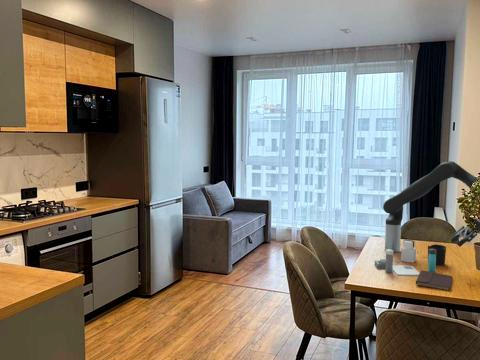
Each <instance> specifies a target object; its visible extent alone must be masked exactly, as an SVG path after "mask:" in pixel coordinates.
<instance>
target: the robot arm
mask: <svg viewBox="0 0 480 360" xmlns="http://www.w3.org/2000/svg"><path fill="white" fill-rule="evenodd" d="M451 178H453V179H456V180H458V181H460V182H462V183H464V185H466V186H467V187H468V188H469V189H470V190H471V184H472V182H474V181H476V180H477V179H479V178H477V177H476V176H475V175H473V174H472V173H470V172H468V171H467V170H466V169H464V168H463V167H462V166H460V165H459V164H458V163H457V162H455V161H452V160H451V161H450V160H449V161H445V162H442V163H440V164H439V165H438V166H436V167H435V168H434V169H433V170H431V172H430V173H428V174H427V175H424V176H422V177H421V178H419V179H418V180H416V181H414V182H413V183H411V184H410V185H409V186H408V187H406V188H404V189H403V190H402V191H401V192H400V193H398V194H396V195H394V196H392V197H390V198H389V199H387V200H385V201H384V203H383V205H382V209H383V211H384V212H385V213H386V214H389V215H388V217H387V218H386V219H385V232H384V235H385V236H384V250H385V251H386V249H391V250H393V253H401V238H402V235H401V231H402V221H403V215H404V205H406V204H408V203H411V202H414V201H416V200H418V199H420V198H422V197H423V196H425V195H426V194H428V193H429V192H430V191H431V190H432V189H433V188H434V187H435V186H436V185H438V184H440V183H442V182H443V181H446V180H448V179H451ZM474 221H475V224H476V228H477V229H478V231H477V233H476V232H475V231H474V230H472V229H471V228H469V227H468V225H467V222H466V226H464V225H462V226H461V227H460V228H459V229H457V231H455V232H454V236H453V237H451V239H450V241H451V242H452V243H453V244H455V243H456V242H457V240H459V239H460V238H462V239H460V240H459V241H458V242H457V243H456V244H457V246H458V247H462V246H463V245H465V243H471V241H473V239H475V238H476V237H477V236H478V234H479V233H480V221H479V220H478V219H477V218H474Z"/></svg>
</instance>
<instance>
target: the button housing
mask: <svg viewBox="0 0 480 360" xmlns="http://www.w3.org/2000/svg"><path fill="white" fill-rule="evenodd" d="M374 266H375V268H376V269H381V270H382V269H384V270H385V269H386V261H385V263H380V260H374Z"/></svg>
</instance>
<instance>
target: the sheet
mask: <svg viewBox="0 0 480 360" xmlns="http://www.w3.org/2000/svg"><path fill="white" fill-rule="evenodd" d="M393 272H394V273H395V274H396V275H397V276H404V277H405V276H406V277H407V276H411V277H412V276H414V277H418V276H419V274H420V271H418V270H417V269H416V268H415V267H414V266H412V265H393Z"/></svg>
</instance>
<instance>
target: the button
mask: <svg viewBox="0 0 480 360" xmlns="http://www.w3.org/2000/svg"><path fill="white" fill-rule="evenodd" d="M379 261H380V263H385V261H386V258H383V257H381V258H379Z"/></svg>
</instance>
